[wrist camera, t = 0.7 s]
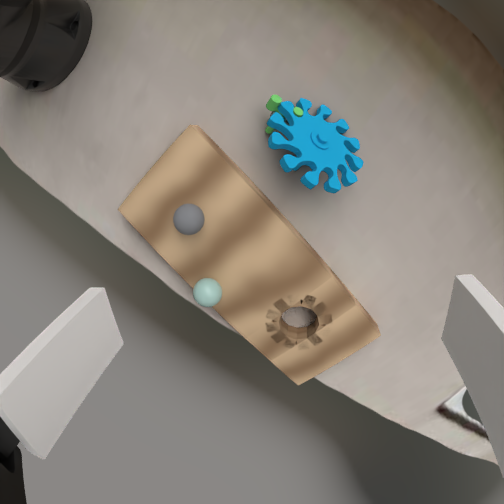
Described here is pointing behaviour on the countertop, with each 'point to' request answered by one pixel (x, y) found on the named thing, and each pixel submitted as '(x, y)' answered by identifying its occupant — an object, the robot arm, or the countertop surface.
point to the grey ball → (188, 219)
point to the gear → (313, 143)
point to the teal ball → (207, 292)
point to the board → (247, 258)
